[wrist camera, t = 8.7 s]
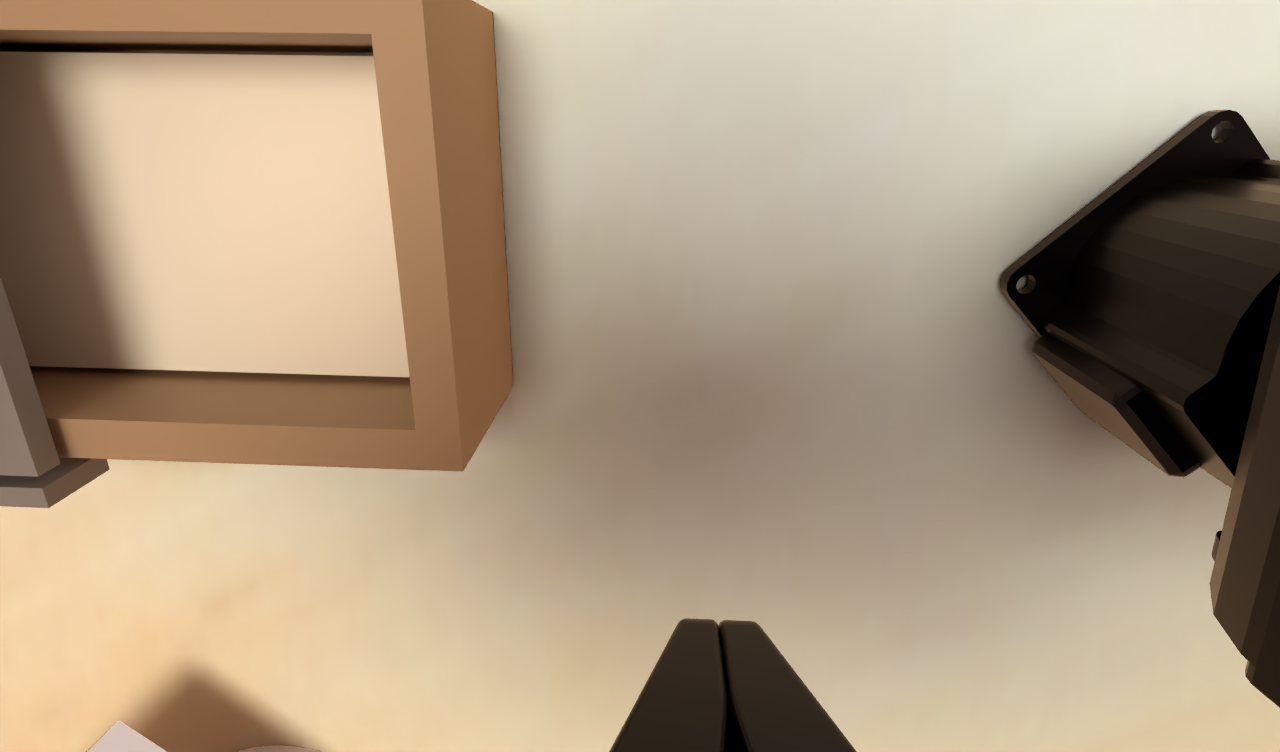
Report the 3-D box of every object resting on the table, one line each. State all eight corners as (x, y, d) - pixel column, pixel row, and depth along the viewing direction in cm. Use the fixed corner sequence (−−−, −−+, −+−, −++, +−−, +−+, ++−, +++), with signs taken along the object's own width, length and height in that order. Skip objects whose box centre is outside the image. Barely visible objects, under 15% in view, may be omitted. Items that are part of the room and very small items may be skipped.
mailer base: (492, 11, 17) (419, -29, 12) (513, 385, 21) (463, 471, 16) (-87, 6, 18) (-381, -35, 13) (30, 371, 21) (-164, 449, 16)
